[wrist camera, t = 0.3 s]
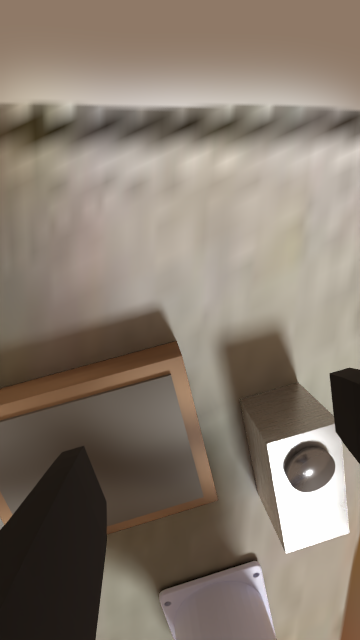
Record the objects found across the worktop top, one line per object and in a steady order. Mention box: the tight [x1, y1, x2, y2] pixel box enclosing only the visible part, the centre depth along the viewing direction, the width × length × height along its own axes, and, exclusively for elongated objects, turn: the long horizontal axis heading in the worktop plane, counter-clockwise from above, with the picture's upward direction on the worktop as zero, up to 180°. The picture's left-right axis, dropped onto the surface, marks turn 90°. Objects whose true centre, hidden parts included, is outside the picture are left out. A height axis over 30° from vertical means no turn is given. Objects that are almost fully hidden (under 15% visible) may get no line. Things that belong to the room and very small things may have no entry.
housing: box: [240, 383, 349, 553], centre depth 19 cm, size 8×4×5 cm, turn 13°
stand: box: [0, 341, 218, 534], centre depth 18 cm, size 10×12×2 cm
